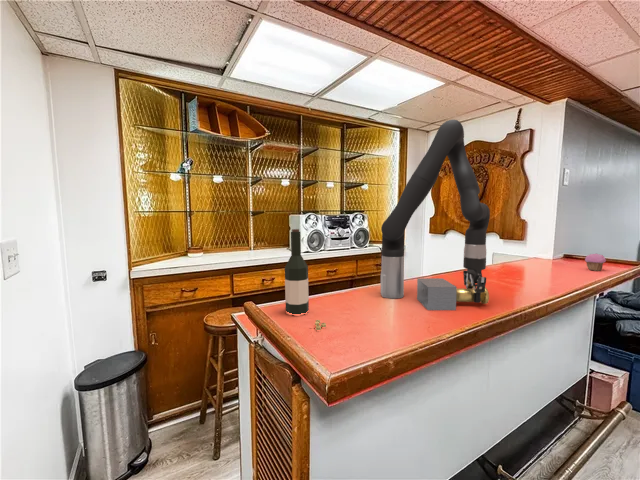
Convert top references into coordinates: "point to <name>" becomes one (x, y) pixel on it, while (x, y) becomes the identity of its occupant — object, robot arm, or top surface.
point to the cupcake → (595, 261)
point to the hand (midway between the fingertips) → (473, 300)
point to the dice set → (318, 325)
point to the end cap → (471, 295)
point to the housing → (436, 294)
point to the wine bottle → (296, 278)
